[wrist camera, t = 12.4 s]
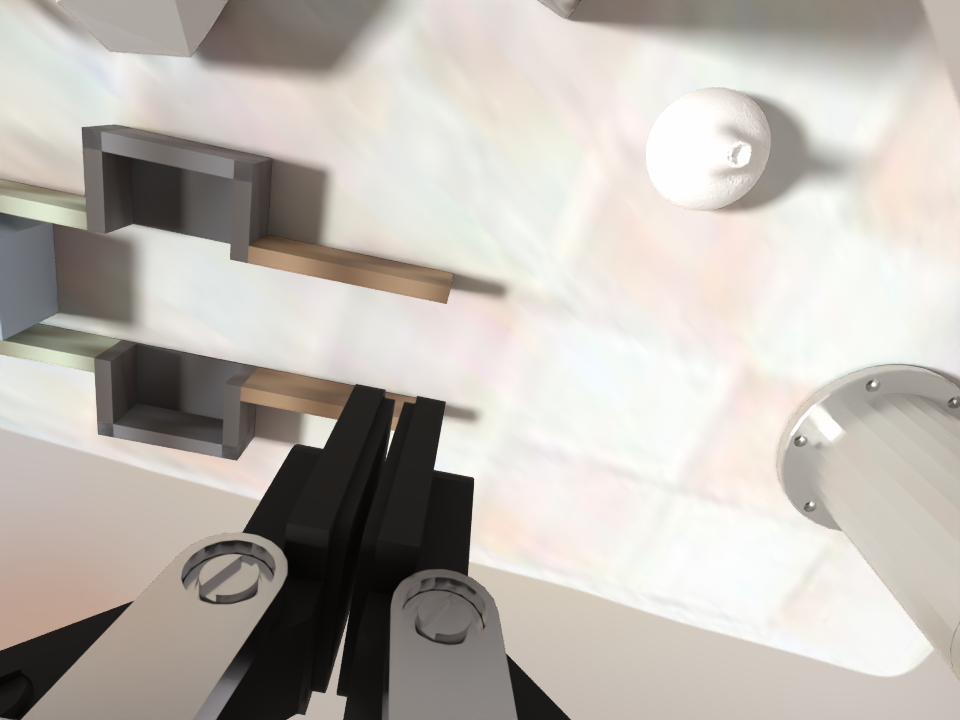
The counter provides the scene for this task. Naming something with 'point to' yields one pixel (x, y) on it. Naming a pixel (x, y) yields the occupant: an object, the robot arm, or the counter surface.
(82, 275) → the counter surface
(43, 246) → the block
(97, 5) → the grey faceted solid
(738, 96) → the garlic bulb
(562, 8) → the coffee box
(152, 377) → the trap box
